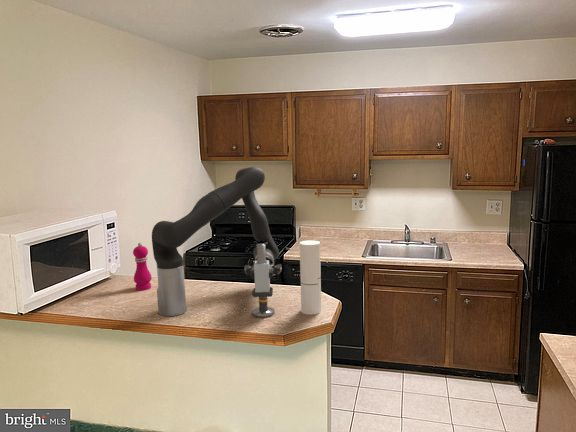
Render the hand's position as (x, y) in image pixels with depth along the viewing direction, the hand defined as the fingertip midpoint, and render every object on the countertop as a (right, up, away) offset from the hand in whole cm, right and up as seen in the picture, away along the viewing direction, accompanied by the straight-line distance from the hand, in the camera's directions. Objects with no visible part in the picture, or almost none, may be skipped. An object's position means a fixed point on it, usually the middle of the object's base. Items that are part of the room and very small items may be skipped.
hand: (261, 275), depth 155 cm
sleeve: (0, -5, +3) cm, 7 cm away
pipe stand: (0, -14, +5) cm, 15 cm away
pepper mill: (-53, -11, +37) cm, 66 cm away
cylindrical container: (+17, -14, +6) cm, 23 cm away
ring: (0, -6, +4) cm, 7 cm away
